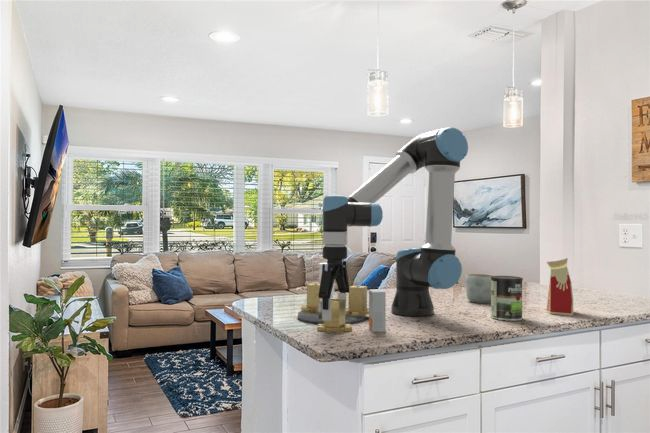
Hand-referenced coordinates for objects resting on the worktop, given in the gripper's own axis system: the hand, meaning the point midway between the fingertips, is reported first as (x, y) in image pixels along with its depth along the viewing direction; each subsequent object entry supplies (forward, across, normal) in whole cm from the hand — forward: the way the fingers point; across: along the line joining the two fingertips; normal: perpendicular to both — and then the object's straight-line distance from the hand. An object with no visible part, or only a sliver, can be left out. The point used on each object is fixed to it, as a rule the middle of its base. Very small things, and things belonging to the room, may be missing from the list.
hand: (334, 316), depth 158 cm
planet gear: (+4, 0, 0) cm, 4 cm away
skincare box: (+4, -5, +12) cm, 14 cm away
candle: (+4, -55, -26) cm, 61 cm away
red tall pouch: (+4, -60, +64) cm, 88 cm away
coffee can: (+4, -41, +47) cm, 62 cm away
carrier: (+4, -17, -8) cm, 19 cm away
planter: (+4, -74, +35) cm, 82 cm away
